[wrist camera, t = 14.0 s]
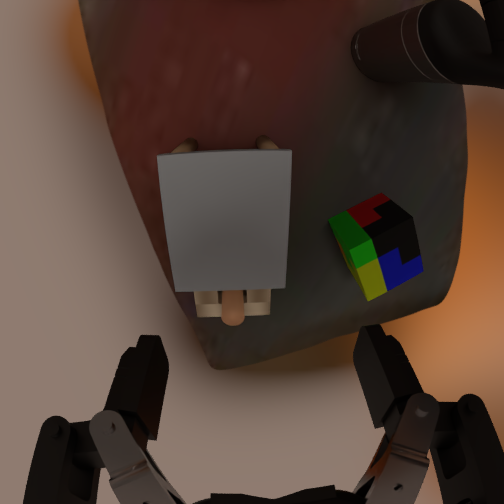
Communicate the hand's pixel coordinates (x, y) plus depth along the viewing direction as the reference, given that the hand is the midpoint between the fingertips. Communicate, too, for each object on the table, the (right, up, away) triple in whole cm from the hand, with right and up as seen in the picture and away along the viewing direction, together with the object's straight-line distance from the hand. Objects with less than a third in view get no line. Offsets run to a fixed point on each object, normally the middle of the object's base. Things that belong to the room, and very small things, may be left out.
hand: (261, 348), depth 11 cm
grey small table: (-4, +13, +31) cm, 33 cm away
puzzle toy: (+18, +7, +36) cm, 41 cm away
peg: (-4, 0, +38) cm, 38 cm away
